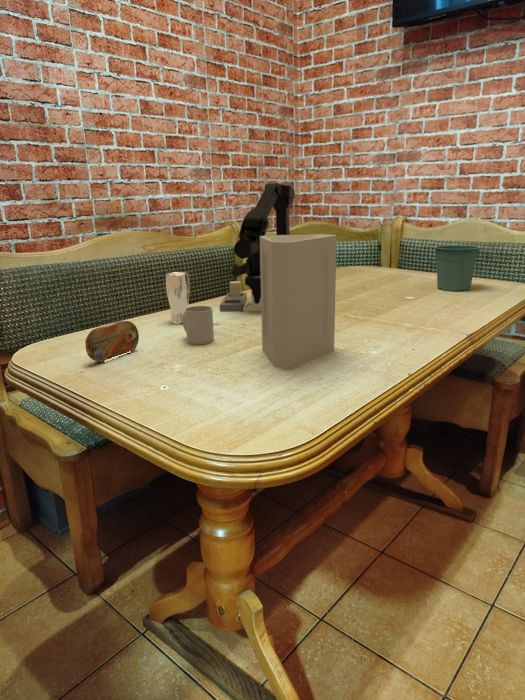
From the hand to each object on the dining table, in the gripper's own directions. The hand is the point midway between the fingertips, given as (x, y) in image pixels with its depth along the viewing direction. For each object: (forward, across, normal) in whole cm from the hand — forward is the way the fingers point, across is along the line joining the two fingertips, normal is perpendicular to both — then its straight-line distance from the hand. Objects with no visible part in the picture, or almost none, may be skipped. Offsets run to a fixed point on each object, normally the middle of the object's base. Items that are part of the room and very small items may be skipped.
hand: (257, 301), depth 168 cm
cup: (+3, +35, -14) cm, 38 cm away
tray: (+3, 0, 0) cm, 3 cm away
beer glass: (+3, +15, -23) cm, 28 cm away
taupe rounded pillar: (+3, +47, +11) cm, 48 cm away
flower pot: (+3, -34, +74) cm, 81 cm away
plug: (+2, 0, 0) cm, 2 cm away
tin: (+3, +49, -32) cm, 59 cm away
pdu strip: (+3, -5, -8) cm, 10 cm away
